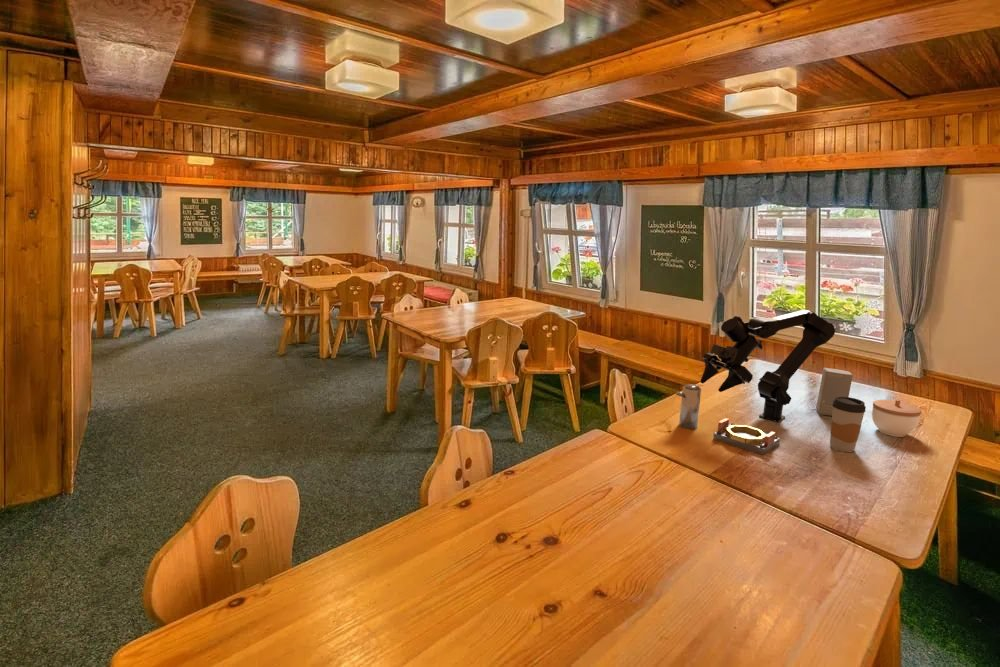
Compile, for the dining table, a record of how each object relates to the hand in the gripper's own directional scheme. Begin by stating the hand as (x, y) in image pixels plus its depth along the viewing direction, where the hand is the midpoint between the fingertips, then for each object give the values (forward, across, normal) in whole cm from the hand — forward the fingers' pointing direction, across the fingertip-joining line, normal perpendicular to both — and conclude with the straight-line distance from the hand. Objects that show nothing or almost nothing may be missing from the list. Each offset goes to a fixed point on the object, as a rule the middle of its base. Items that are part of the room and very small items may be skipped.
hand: (710, 386), depth 175 cm
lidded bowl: (-27, +20, +51) cm, 61 cm away
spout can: (+15, 0, +2) cm, 15 cm away
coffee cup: (-9, +26, +30) cm, 41 cm away
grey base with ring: (+8, +15, +11) cm, 20 cm away
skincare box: (-23, +1, +47) cm, 52 cm away
